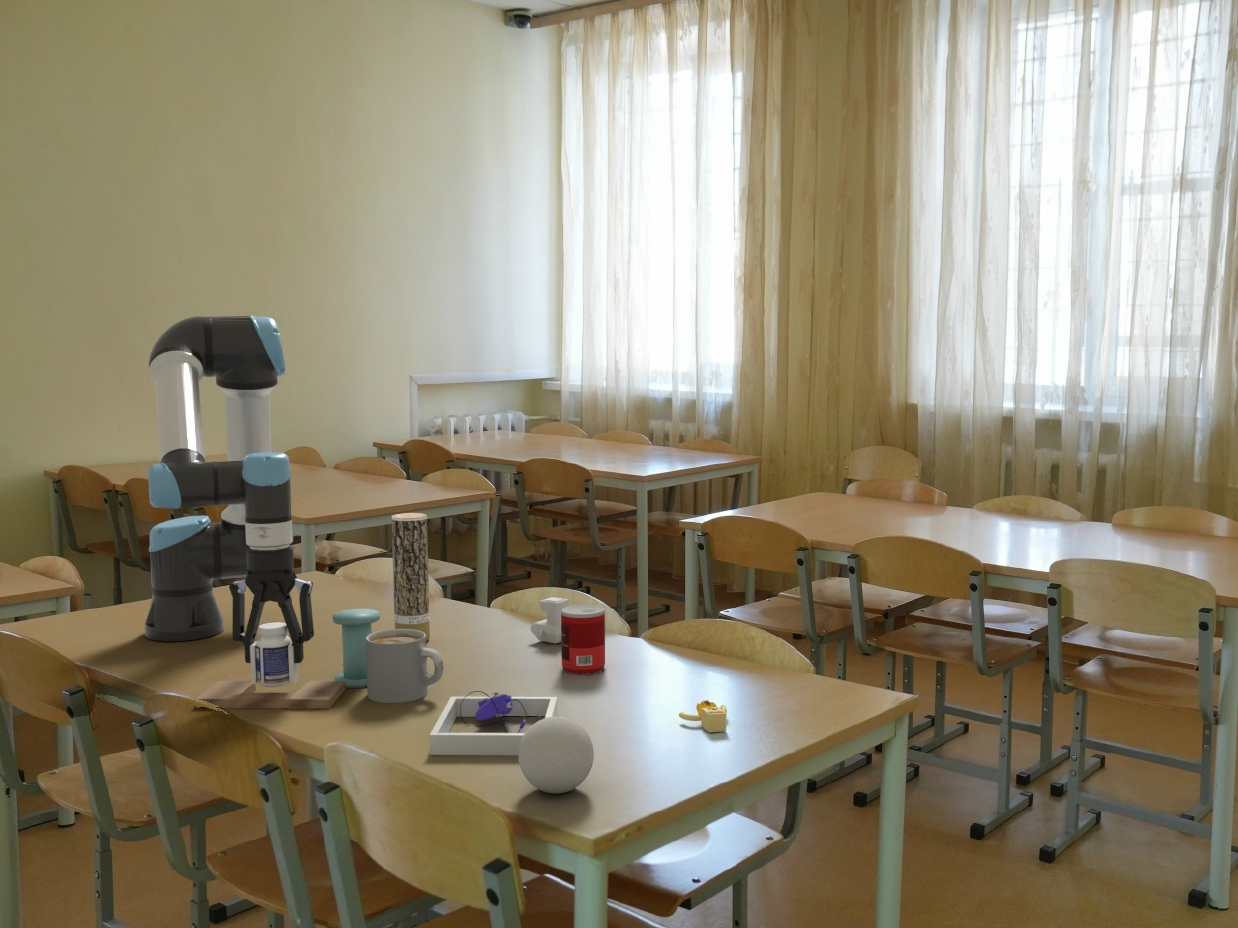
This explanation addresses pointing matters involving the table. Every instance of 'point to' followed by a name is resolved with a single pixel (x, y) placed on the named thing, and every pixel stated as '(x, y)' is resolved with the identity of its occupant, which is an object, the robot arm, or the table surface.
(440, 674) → the coffee mug
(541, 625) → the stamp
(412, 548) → the paper tube
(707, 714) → the character toy
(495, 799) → the table surface
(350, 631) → the bobbin post
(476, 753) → the controller tray
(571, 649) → the canned food
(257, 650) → the pill bottle
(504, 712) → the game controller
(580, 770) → the ball
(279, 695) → the notch board
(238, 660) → the table surface
